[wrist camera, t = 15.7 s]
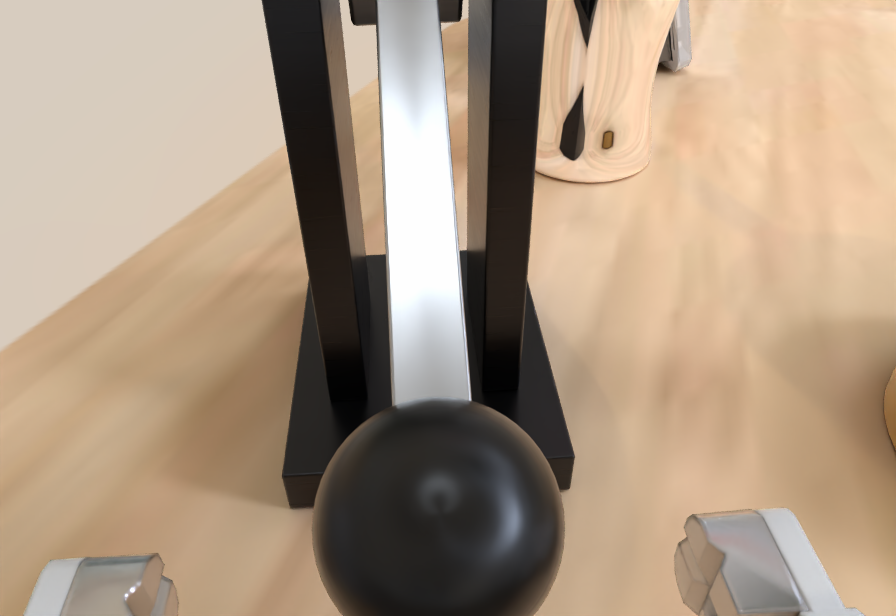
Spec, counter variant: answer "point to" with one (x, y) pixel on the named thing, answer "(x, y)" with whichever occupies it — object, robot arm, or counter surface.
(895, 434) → the desk lamp
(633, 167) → the beer glass
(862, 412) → the counter surface
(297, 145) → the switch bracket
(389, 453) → the switch lever
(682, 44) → the electrical switch
